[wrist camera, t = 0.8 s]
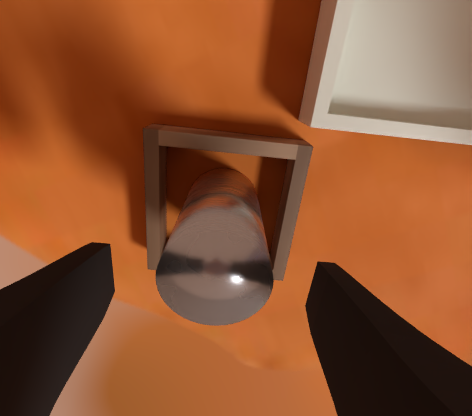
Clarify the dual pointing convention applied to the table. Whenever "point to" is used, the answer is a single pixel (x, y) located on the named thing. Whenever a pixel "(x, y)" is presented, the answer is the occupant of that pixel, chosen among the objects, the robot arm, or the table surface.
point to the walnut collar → (228, 142)
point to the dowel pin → (217, 253)
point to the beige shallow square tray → (392, 69)
